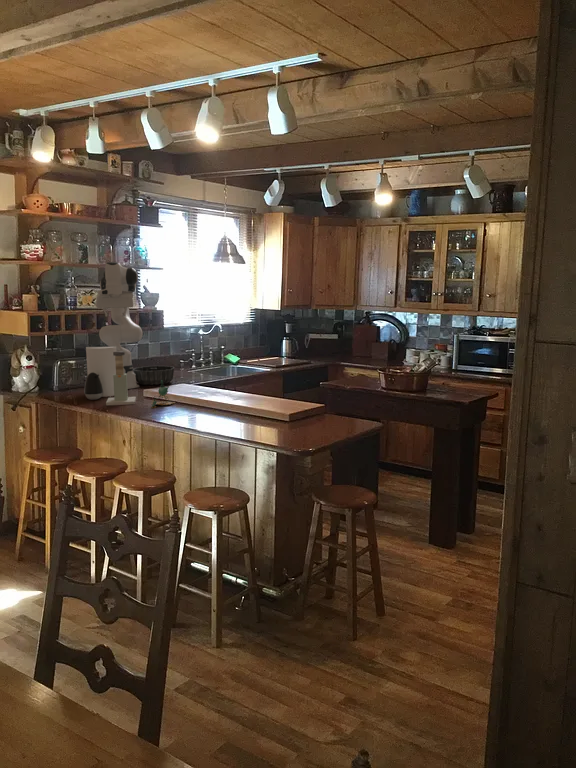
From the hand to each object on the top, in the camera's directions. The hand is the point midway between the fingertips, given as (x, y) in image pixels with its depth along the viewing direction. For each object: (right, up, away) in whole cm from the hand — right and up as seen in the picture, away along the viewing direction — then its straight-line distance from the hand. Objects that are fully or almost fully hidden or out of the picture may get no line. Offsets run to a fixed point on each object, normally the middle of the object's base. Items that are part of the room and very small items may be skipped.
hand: (115, 316), depth 383 cm
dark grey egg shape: (-13, -47, +4) cm, 49 cm away
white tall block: (-12, -44, +19) cm, 50 cm away
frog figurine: (+29, -50, -17) cm, 60 cm away
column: (+5, -46, -7) cm, 47 cm away
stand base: (+5, -48, -7) cm, 49 cm away
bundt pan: (+11, -38, +56) cm, 69 cm away
